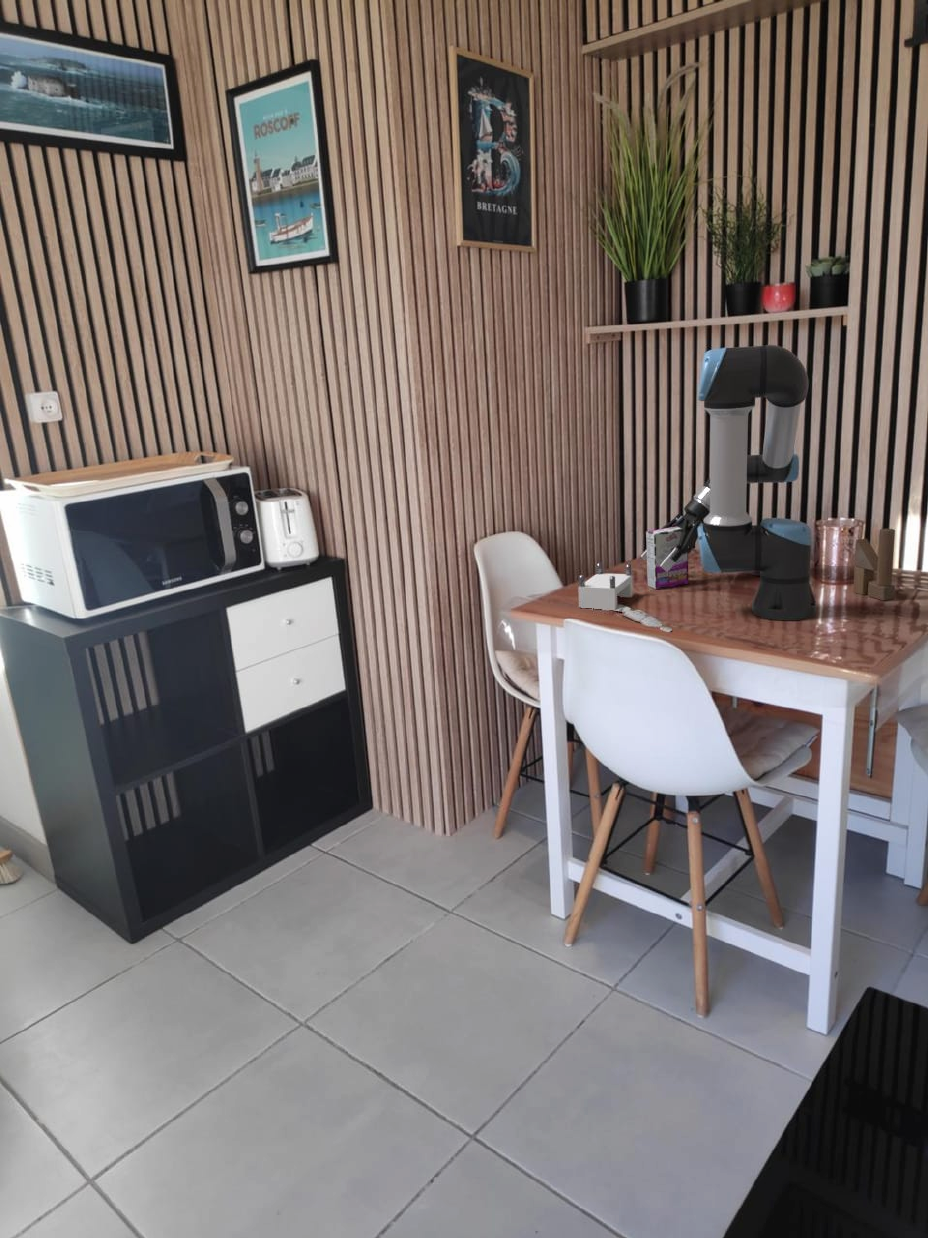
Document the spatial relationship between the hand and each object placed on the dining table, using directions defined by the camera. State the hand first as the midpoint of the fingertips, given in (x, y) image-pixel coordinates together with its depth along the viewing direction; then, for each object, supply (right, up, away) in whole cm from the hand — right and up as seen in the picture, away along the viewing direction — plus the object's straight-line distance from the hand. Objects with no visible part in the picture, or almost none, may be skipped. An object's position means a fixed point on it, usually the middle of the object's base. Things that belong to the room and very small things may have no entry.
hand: (653, 564), depth 258 cm
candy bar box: (+5, -6, +3) cm, 8 cm away
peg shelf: (-15, -11, -10) cm, 21 cm away
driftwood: (-11, -15, -23) cm, 30 cm away
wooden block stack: (+53, -10, -22) cm, 58 cm away
